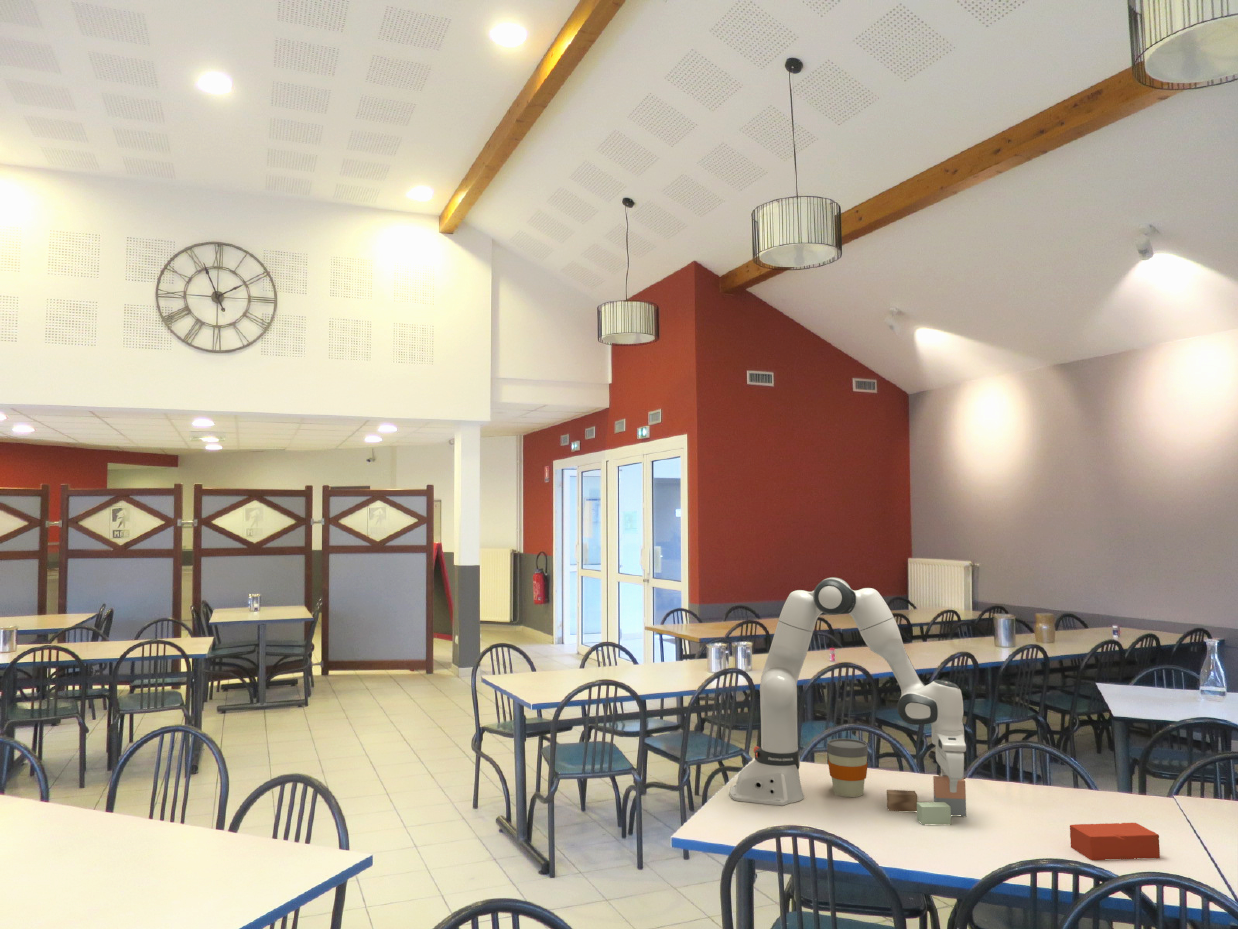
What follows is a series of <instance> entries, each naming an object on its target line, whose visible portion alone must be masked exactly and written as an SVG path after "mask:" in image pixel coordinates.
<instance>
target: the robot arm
mask: <svg viewBox="0 0 1238 929" xmlns="http://www.w3.org/2000/svg"><path fill="white" fill-rule="evenodd" d="M821 614H825V615H830V616H835V615H845V614H847V615H849V616H851V617H852V619H853V621H854V623H855V625H856V627H857V629H858V631H859V633H860V636H861V637H862V639H863V641H864V643H865V645H866V646H867V647H868V649H869V650H870V651H871V652H872V653H875V654H877V655H878V656H880V657H881V658H883V659H884V660H885V661H886V662H887V664H888V666H889V667H890V669H891V672H892V673H893V676H894V677H895V679H896V681H897V684H898V686H899V688H900V690H901V691H900V692H901V694H900V697H899V699H898V701H897V703H896V704H897V705H896V710H897V713H898V715H899V717H900V718H901V720H902V721H904V723H907V724H908V725H912V726H913V725H914V726H920V725H928V724H929V725H930V724H931V726H930V727H931V743H932V744H933V745H934V746H935V760H936V763H937V764H938V765H939V766H940V768H941V770H940V773H941V772H942V776H947V777H949V790H950V792H952V793H956V792H957V783H958V780H962V778H964V772H965V769H964V768H965V752H966V751H967V744H966V742H965V727H964V724H963V717H964V701H963V700H964V699H963V694H962V690H961V688H960V687H959V686H958V685H957V684H956V683H954V682H953V681H949V680H945V679H935V680H933V681H932V682H930V683H929V684H925V683H924V682H923V681H922V680H921V678H920V677H919V675H918V673H917V671H916V669H915V666H914V665H913V664H912V662H911V660H910V657H909V656H908V652H906V648H905V645H904V642H903V639H902V635H901V632H900V628H899V626H898V623H897V622H896V619H895V617H894V615H893V613H892V611H891V609H890V606H889V605H888V604H887V603H886V601H885V600H884V598H883V596H882V595H881V594H880V592H879V591H878V590H876V589H875V588H871V587H863V588H861V589H858V590H853V589H852V587H851V586H850V584H849V583H848V582H847V581H845V580H844V579H843V578H839V577H835V576H834V577H833V576H832V577H827V578H825V579H823V580H821V581H820V582H819V583H818V584H817V585H816V586H815V588H814V590H812V591H807V590H804V589H803V590H802V589H797V590H794V591H791V592H790V593H789V595H788V596H787V598H786V600H785V602H784V604H783V606H782V608H781V612H780V614H779V618H778V620H777V624H776V628H775V631H774V634H773V638H772V641H771V645H770V648H769V651H768V653H767V657H766V661H765V663H764V667H763V671H762V673H761V678H760V683H759V684H760V686H759V695H760V696H759V699H760V702H759V703H760V707H759V708H760V741H761V742H760V743H761V747H760V746H758V745H755V746H754V747H753V753H754V761H752V762H750V763H749V764H748V765H746V766H745V767H744V768H743V769H741V770H740V772H739V774H738V776H737V780H736V784H734V785H732V786H731V787H730V789H729V796H730V798H731V799H732V800H733V801H738V802H748V803H757V804H765V805H773V806H785V805H788V804H791V803H796V802H799V801H801V800H804V797H805V795H804V792H803V787H802V784H801V776H800V766H801V765H800V764H801V760H800V759H801V758H800V749H799V748H798V747H799V746H798V743H799V742H798V688H797V685H798V680H799V677H800V674H801V670H802V668H803V666H804V662H805V659H806V657H807V654H808V651H809V647H810V644H811V640H812V636H813V634H814V629H815V626H816V624H817V621H818V618H819V616H820V615H821Z"/></svg>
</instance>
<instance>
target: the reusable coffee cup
mask: <svg viewBox="0 0 1238 929" xmlns="http://www.w3.org/2000/svg"><path fill="white" fill-rule="evenodd" d="M868 749H869V748H868V743H867V742H865V741H862V740H860V739H854V738H833V739H829V740H828V741H827V745H826V753H827V755H828V760H827V762H828V763H827V765H828V771H829V776H830V778H831V782H832V783H831V784H832V789H833V793H834V794H835V795H837V796H841V797H848V798H857V797H861V796H863V795H864V791H865V790H864V789H865V780H866V778H867V775H868V761H867V759H868V755H869V750H868Z"/></svg>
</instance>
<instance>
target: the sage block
mask: <svg viewBox="0 0 1238 929" xmlns="http://www.w3.org/2000/svg"><path fill="white" fill-rule="evenodd" d="M916 820H917V822H919V821H920V822H921V823H922V824H921V823H920V822H919V823H920V824H921V825H922V826H926V825H925V824H951V825H952V816H951V808H950V806H949V805H948V804H946V803H945V802H934V801H926V802H925V801H924V802H917V812H916Z"/></svg>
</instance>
